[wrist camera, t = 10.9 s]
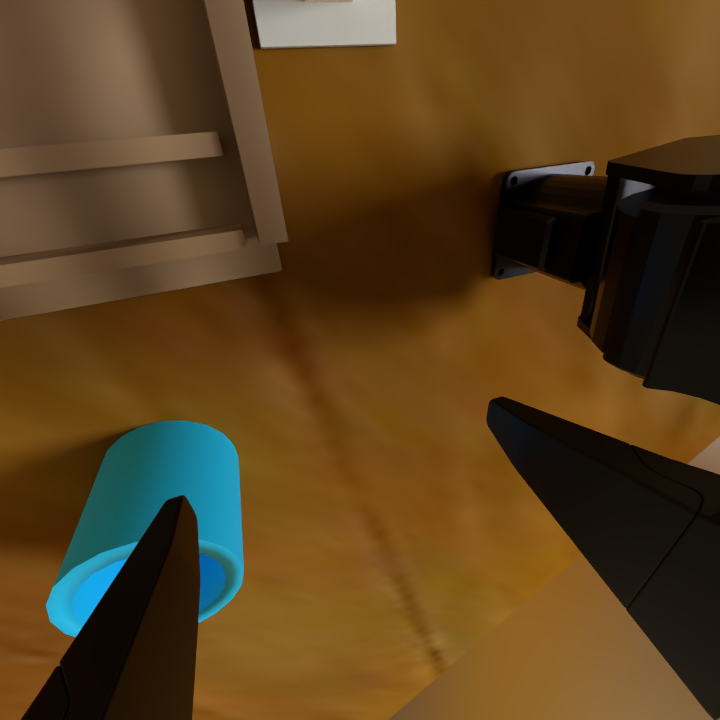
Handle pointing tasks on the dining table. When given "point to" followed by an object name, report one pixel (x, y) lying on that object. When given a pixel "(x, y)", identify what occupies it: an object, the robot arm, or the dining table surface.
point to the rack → (130, 152)
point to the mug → (140, 506)
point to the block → (328, 0)
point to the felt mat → (324, 23)
